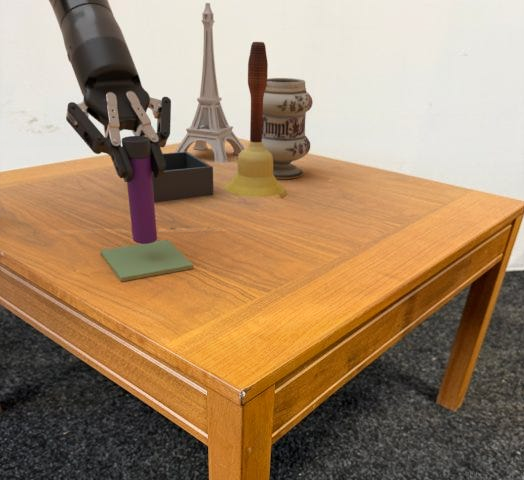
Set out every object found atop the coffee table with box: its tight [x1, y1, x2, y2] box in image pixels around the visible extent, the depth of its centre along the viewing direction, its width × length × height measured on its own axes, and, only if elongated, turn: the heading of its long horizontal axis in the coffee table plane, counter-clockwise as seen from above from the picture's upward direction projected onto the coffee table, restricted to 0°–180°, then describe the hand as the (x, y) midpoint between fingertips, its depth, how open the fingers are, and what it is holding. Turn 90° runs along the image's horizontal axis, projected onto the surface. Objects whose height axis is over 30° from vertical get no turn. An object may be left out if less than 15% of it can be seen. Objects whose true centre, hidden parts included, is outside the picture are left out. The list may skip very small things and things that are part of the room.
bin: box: [152, 151, 214, 203], centre depth 101 cm, size 12×12×6 cm
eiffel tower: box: [173, 2, 246, 163], centre depth 119 cm, size 13×13×30 cm
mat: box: [99, 239, 194, 283], centre depth 76 cm, size 10×10×1 cm
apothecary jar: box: [262, 77, 314, 180], centre depth 112 cm, size 12×12×18 cm
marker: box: [121, 135, 158, 244], centre depth 71 cm, size 3×3×13 cm
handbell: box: [224, 41, 288, 199], centre depth 98 cm, size 12×12×25 cm
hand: (145, 175), depth 68 cm, fingers closed on marker, 3 cm apart
